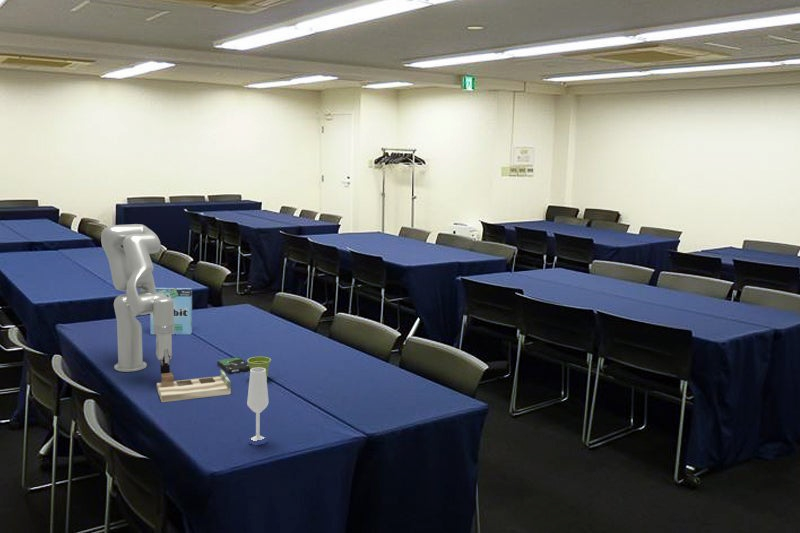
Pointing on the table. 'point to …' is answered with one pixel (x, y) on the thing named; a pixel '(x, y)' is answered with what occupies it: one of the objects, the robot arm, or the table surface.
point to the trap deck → (195, 388)
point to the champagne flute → (257, 396)
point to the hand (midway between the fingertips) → (165, 374)
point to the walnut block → (167, 379)
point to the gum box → (178, 309)
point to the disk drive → (233, 365)
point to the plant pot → (259, 363)
